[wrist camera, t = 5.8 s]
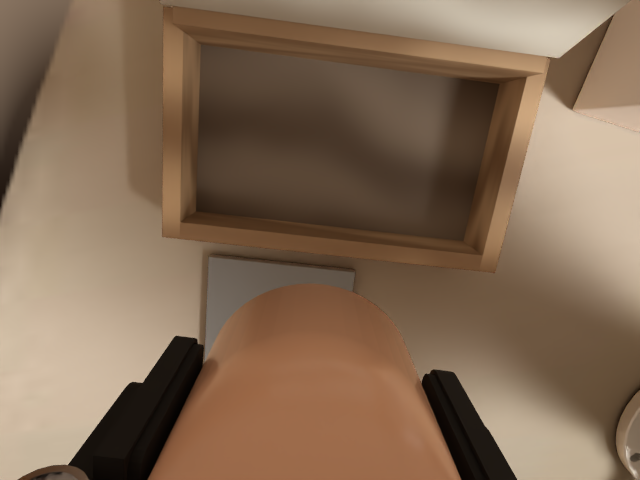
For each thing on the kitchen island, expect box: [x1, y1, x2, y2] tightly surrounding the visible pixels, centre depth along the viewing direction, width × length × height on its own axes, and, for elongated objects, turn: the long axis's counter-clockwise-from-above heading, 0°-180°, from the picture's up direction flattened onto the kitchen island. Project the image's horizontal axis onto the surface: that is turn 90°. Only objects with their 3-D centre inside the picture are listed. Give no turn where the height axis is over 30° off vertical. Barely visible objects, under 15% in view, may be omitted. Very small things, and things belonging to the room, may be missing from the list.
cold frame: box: [159, 0, 631, 273], centre depth 16 cm, size 16×20×16 cm
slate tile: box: [205, 254, 355, 360], centre depth 28 cm, size 10×10×1 cm
